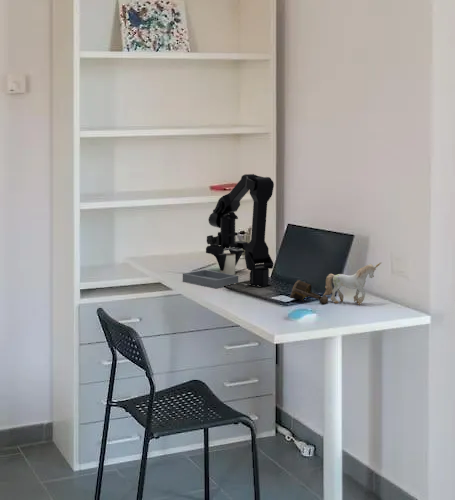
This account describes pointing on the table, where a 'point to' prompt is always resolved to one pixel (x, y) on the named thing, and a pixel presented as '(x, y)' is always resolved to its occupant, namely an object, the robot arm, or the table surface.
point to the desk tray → (210, 278)
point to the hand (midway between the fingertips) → (227, 269)
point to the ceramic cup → (229, 264)
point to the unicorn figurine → (349, 283)
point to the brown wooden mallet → (305, 292)
